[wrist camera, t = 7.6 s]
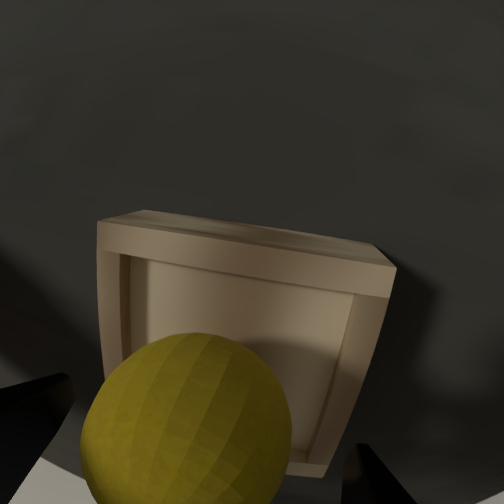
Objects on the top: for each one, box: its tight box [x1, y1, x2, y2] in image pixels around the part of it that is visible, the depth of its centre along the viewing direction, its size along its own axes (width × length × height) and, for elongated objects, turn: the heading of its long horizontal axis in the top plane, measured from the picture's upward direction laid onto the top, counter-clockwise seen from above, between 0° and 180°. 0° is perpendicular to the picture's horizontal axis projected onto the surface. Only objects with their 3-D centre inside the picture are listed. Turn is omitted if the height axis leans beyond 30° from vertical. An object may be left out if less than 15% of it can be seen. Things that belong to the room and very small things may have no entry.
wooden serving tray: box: [97, 210, 397, 478], centre depth 13 cm, size 10×10×4 cm
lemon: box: [80, 332, 292, 504], centre depth 8 cm, size 6×6×8 cm
